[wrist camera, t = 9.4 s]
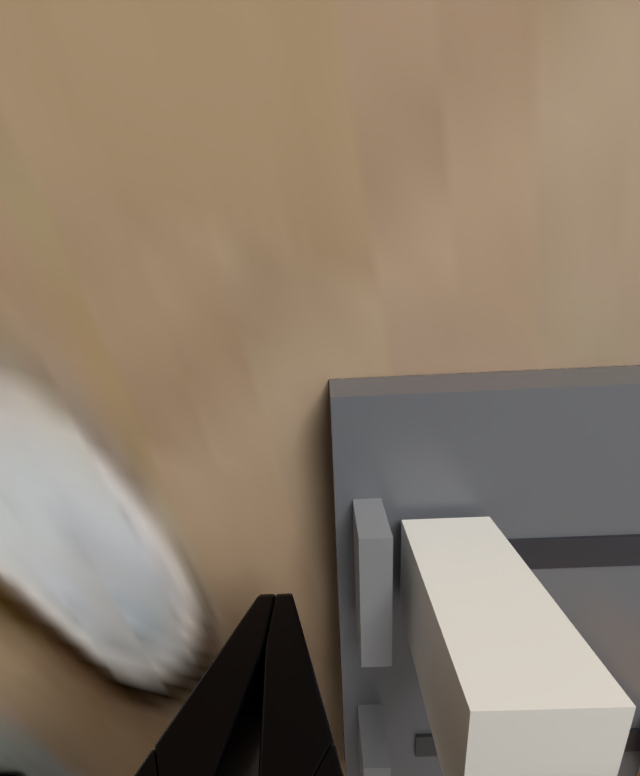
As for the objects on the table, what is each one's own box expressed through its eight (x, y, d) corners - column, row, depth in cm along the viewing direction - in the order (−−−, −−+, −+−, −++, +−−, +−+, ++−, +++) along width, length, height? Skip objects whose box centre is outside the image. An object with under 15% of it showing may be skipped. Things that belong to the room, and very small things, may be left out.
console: (680, 755, 15) (790, 894, 11) (345, 764, 15) (351, 903, 12) (816, 357, 10) (1070, 387, 7) (328, 379, 10) (332, 419, 7)
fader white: (481, 603, 10) (600, 834, 6) (399, 606, 10) (457, 837, 6) (489, 516, 9) (636, 706, 5) (401, 519, 9) (471, 711, 5)
